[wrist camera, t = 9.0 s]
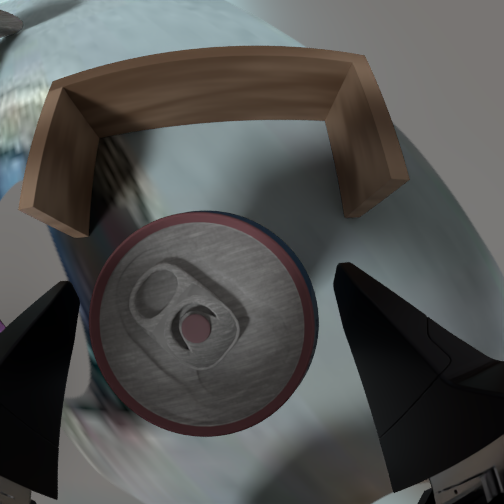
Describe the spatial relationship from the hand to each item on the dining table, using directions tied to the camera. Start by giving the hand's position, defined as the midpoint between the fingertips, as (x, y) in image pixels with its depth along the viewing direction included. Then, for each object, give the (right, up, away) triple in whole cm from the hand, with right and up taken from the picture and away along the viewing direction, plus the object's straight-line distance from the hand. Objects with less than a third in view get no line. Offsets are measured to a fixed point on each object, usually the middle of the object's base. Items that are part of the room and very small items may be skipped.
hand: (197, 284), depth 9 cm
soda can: (0, -3, +10) cm, 10 cm away
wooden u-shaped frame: (-1, +7, +11) cm, 13 cm away
